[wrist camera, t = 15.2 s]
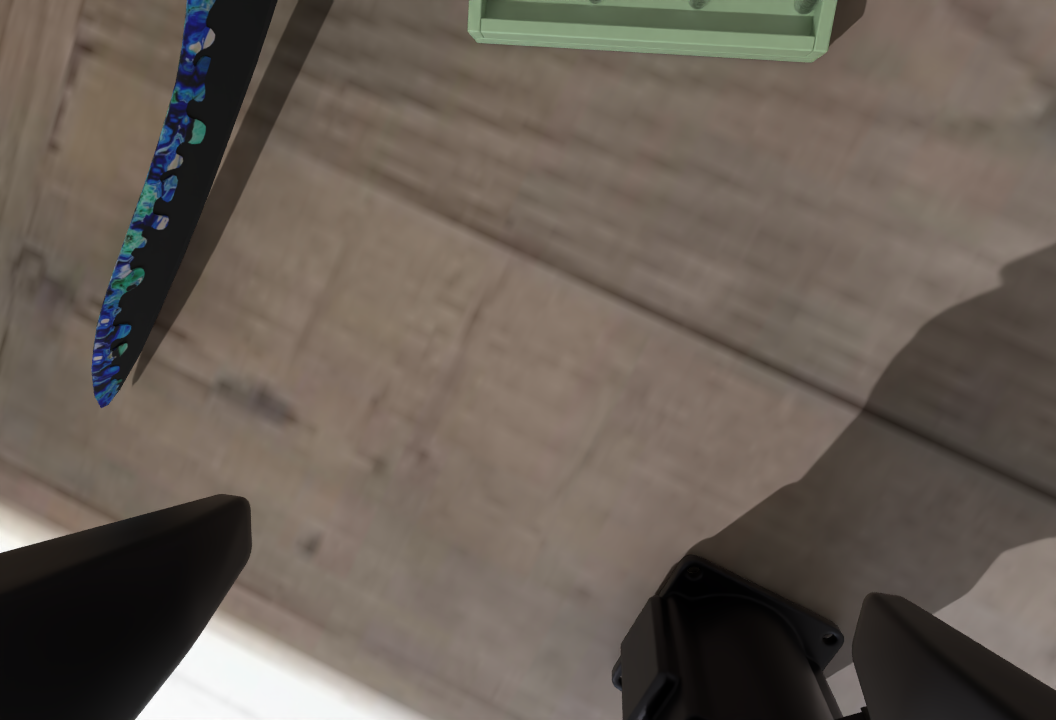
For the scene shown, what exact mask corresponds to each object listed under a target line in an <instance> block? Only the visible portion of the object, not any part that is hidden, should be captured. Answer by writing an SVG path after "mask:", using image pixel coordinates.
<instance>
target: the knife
mask: <svg viewBox="0 0 1056 720" xmlns="http://www.w3.org/2000/svg"><path fill="white" fill-rule="evenodd" d="M276 3H277V0H187V6H186V15H185V24H184V33H183V42H182V48H181V54H180V60H179V66H178V72H177V78H176V83H175V86H174V90H173V94H172V97H171V101H170V104H169V108H168V111H167V115H166V118H165V122H164V125H163V128H162V131H161V134H160V138H159V141H158V144H157V147H156V150H155V154H154V157H153V160H152V163H151V166H150V169H149V172H148V175H147V178H146V181H145V184H144V187H143V190H142V192H141V195H140V198H139V201H138V203H137V206H136V209H135V212H134V215H133V217H132V220H131V223H130V226H129V229H128V231H127V234H126V237H125V240H124V242H123V245H122V248H121V251H120V254H119V257H118V259H117V262H116V265H115V268H114V271H113V274H112V277H111V280H110V283H109V286H108V289H107V292H106V295H105V298H104V301H103V305H102V309H101V312H100V316H99V320H98V323H97V328H96V335H95V341H94V348H93V360H92V380H93V390H94V395H95V398H96V400H97V401H98V403H99V405H100V407H101V408H102V407H104V406H107V405H109V403H110V402H111V401H112V399H113V398H114V397H115V395H116V394H117V393H118V391H119V390H120V388H121V387H122V385H123V383H124V381H125V380H126V378H127V376H128V374H129V373H130V371H131V369H132V367H133V366H134V364H135V362H136V360H137V359H138V357H139V355H140V353H141V351H142V349H143V347H144V345H145V342H146V340H147V338H148V336H149V334H150V332H151V329H152V327H153V325H154V323H155V321H156V318H157V316H158V314H159V312H160V310H161V307H162V305H163V303H164V300H165V298H166V296H167V293H168V291H169V289H170V286H171V284H172V282H173V280H174V277H175V275H176V273H177V270H178V268H179V266H180V263H181V261H182V259H183V256H184V254H185V252H186V249H187V247H188V244H189V242H190V239H191V237H192V234H193V232H194V229H195V227H196V224H197V222H198V220H199V217H200V215H201V212H202V210H203V207H204V205H205V202H206V200H207V197H208V195H209V192H210V189H211V187H212V184H213V181H214V179H215V176H216V173H217V170H218V168H219V165H220V162H221V160H222V157H223V154H224V151H225V149H226V146H227V143H228V140H229V138H230V135H231V132H232V130H233V127H234V124H235V121H236V119H237V116H238V113H239V111H240V108H241V105H242V102H243V100H244V97H245V94H246V92H247V89H248V86H249V83H250V81H251V78H252V75H253V73H254V70H255V67H256V64H257V62H258V58H259V55H260V52H261V49H262V46H263V43H264V40H265V37H266V34H267V31H268V28H269V25H270V22H271V19H272V16H273V13H274V10H275V6H276Z"/></svg>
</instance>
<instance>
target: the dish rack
mask: <svg viewBox="0 0 1056 720" xmlns="http://www.w3.org/2000/svg"><path fill="white" fill-rule="evenodd" d="M836 6H837V0H469V11H468V29H467V30H468V32H469V33H470V35H471V36H472V37H473V38H474V39H475V41H476V42H478V43H490V44H507V45H524V46H541V47H558V48H574V49H591V50H608V51H625V52H642V53H659V54H676V55H693V56H709V57H726V58H743V59H760V60H777V61H794V62H814V61H815V60H816V59H818V58H819V57H821V56H822V55H824V54H825V53H826V52H827V51H828V47H829V42H830V37H831V31H832V26H833V21H834V16H835V11H836Z"/></svg>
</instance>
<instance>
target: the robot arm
mask: <svg viewBox="0 0 1056 720" xmlns="http://www.w3.org/2000/svg"><path fill="white" fill-rule="evenodd" d="M251 548H252V536H251V509H250V504H249V501H248V500H247V499H246V498H244V497H240V496H233V495H226V494H218V495H214V496H210V497H207V498H203V499H199V500H196V501H192V502H188V503H184V504H181V505H177V506H173V507H170V508H166V509H162V510H158V511H155V512H151V513H147V514H144V515H140V516H136V517H133V518H129V519H125V520H121V521H118V522H114V523H110V524H107V525H103V526H99V527H95V528H92V529H88V530H84V531H81V532H77V533H73V534H69V535H66V536H62V537H58V538H55V539H51V540H47V541H43V542H40V543H36V544H32V545H29V546H25V547H21V548H17V549H14V550H10V551H6V552H3V553H0V720H135V719H136V718H137V716H138V715H139V714H140V713H141V711H142V710H143V709H144V708H145V706H146V705H147V704H148V703H149V701H150V700H151V699H152V697H153V696H154V695H155V694H156V692H157V691H158V690H159V689H160V687H161V686H162V685H163V684H164V682H165V681H166V680H167V679H168V677H169V676H170V675H171V674H172V672H173V671H174V670H175V668H176V667H177V666H178V665H179V663H180V662H181V661H182V659H183V658H184V657H185V655H186V654H187V653H188V651H189V650H190V649H191V647H192V646H193V644H194V643H195V641H196V640H197V639H198V637H199V636H200V634H201V633H202V631H203V630H204V628H205V627H206V625H207V623H208V622H209V620H210V619H211V617H212V616H213V614H214V613H215V611H216V610H217V608H218V607H219V605H220V603H221V602H222V600H223V599H224V597H225V596H226V594H227V593H228V591H229V590H230V588H231V587H232V585H233V583H234V582H235V580H236V579H237V577H238V576H239V574H240V573H241V571H242V570H243V568H244V567H245V565H246V563H247V561H248V559H249V557H250V553H251ZM690 567H697V568H699V570H698V571H697V572H695V573H691V572H688V571H687V570H688V569H689V568H690ZM826 634H832V636H831V637H829V638H823V636H824V635H826ZM843 643H844V636H843V634H842V633H841V631H840V629H839V627H838V625H836V624H835V623H834V622H832V621H830V620H828V619H826V618H824V617H822V616H820V615H818V614H816V613H814V612H812V611H810V610H807V609H805V608H803V607H801V606H799V605H797V604H795V603H793V602H791V601H789V600H787V599H785V598H783V597H781V596H779V595H777V594H775V593H773V592H771V591H769V590H767V589H765V588H763V587H761V586H759V585H757V584H754V583H752V582H750V581H748V580H746V579H744V578H742V577H740V576H738V575H736V574H734V573H732V572H730V571H728V570H726V569H724V568H722V567H720V566H718V565H716V564H714V563H712V562H710V561H708V560H706V559H704V558H702V557H699V556H696V555H688V556H686V557H684V558H683V559H682V560H681V561H680V562H679V564H678V566H677V567H676V569H675V570H674V572H673V574H672V575H671V577H670V578H669V580H668V581H667V583H666V585H665V586H664V588H663V589H662V591H661V593H660V594H659V595H655V596H653V597H651V598H649V600H648V601H647V603H646V605H645V606H644V608H643V609H642V611H641V613H640V614H639V616H638V617H637V619H636V621H635V622H634V624H633V625H632V627H631V629H630V630H629V632H628V633H627V635H626V637H625V638H624V640H623V641H622V643H621V656H620V658H619V659H618V661H617V662H616V664H615V666H614V667H613V670H612V682H613V684H614V686H615V687H616V688H617V689H619V690H620V691H622V710H623V720H1056V690H1054V689H1052V688H1051V687H1049V686H1047V685H1046V684H1044V683H1043V682H1041V681H1039V680H1038V679H1036V678H1034V677H1033V676H1031V675H1030V674H1028V673H1026V672H1025V671H1023V670H1021V669H1020V668H1018V667H1016V666H1015V665H1013V664H1012V663H1010V662H1008V661H1007V660H1005V659H1003V658H1002V657H1000V656H999V655H997V654H995V653H994V652H992V651H990V650H989V649H987V648H985V647H984V646H982V645H981V644H979V643H977V642H976V641H974V640H972V639H971V638H969V637H968V636H966V635H964V634H963V633H961V632H959V631H958V630H956V629H954V628H953V627H951V626H950V625H948V624H946V623H945V622H943V621H941V620H940V619H938V618H937V617H935V616H933V615H932V614H930V613H928V612H927V611H925V610H924V609H922V608H920V607H919V606H917V605H915V604H914V603H912V602H910V601H909V600H907V599H906V598H904V597H901V596H897V595H890V594H884V593H877V592H872V593H870V594H868V595H867V596H866V597H865V599H864V601H863V605H862V608H861V612H860V616H859V620H858V623H857V627H856V631H855V635H854V639H853V643H852V657H853V662H854V666H855V669H856V672H857V676H858V679H859V682H860V686H861V689H862V692H863V695H864V699H865V702H866V705H867V706H866V707H862V708H861V711H862V712H860V713H857V714H853V715H849V716H846V717H843V715H842V713H841V711H840V709H839V707H838V705H837V702H836V700H835V698H834V696H833V694H832V692H831V689H830V687H829V685H828V683H827V681H826V679H825V676H824V674H823V672H822V671H823V670H824V669H825V667H826V666H827V665H828V663H829V662H830V661H831V660H832V658H833V657H834V656H835V654H836V653H837V652H838V650H839V649H840V648H841V646H842V645H843ZM620 676H622V678H621V677H620Z"/></svg>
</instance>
